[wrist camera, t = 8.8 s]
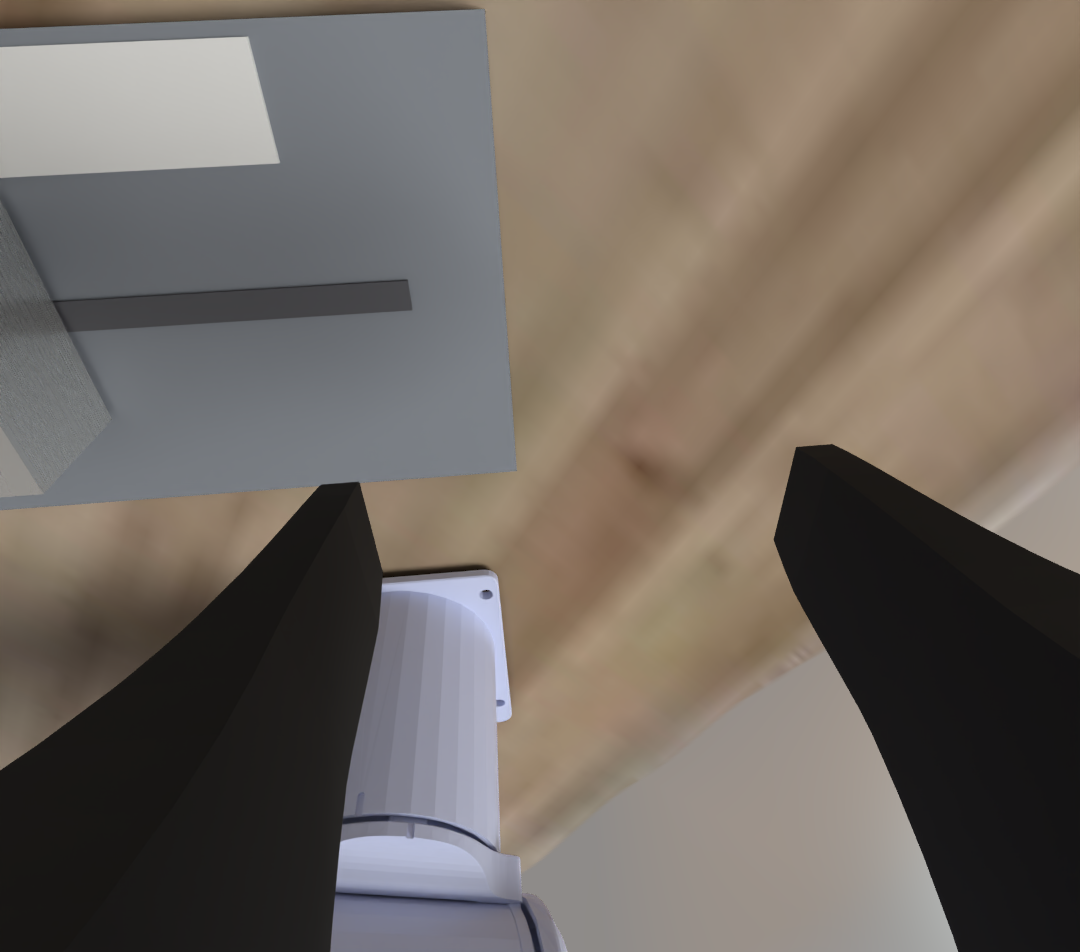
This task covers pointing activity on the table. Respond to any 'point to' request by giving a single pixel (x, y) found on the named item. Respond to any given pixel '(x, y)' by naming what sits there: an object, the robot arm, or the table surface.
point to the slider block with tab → (38, 379)
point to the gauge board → (266, 247)
